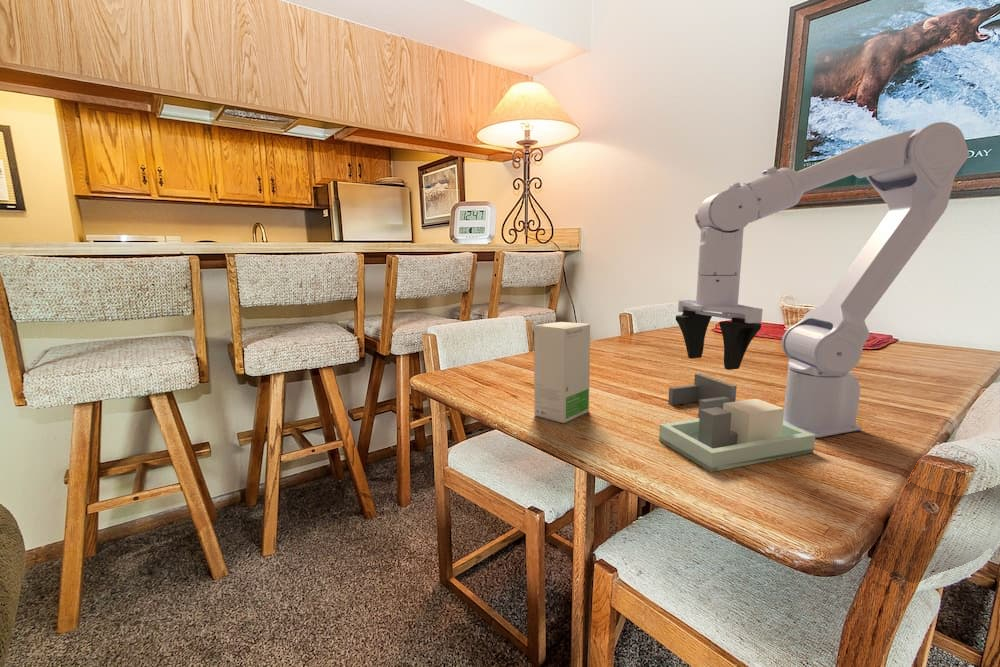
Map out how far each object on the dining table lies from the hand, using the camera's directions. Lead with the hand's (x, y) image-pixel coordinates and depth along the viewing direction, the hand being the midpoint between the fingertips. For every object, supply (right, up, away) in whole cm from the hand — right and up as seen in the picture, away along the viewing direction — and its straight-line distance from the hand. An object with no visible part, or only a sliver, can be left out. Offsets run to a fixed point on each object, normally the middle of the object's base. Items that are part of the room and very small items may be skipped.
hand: (712, 363), depth 67 cm
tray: (0, -11, -7) cm, 13 cm away
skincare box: (-23, -9, +7) cm, 25 cm away
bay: (+2, -9, +8) cm, 12 cm away
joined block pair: (0, -11, -7) cm, 13 cm away
